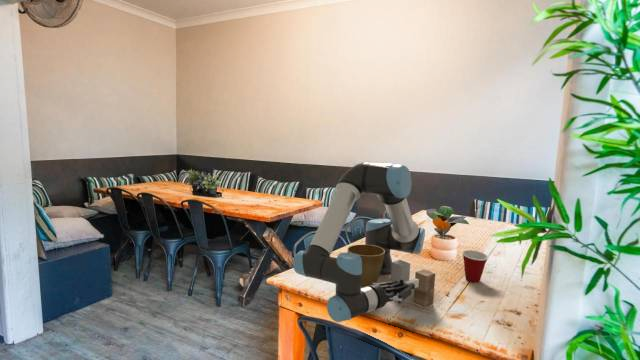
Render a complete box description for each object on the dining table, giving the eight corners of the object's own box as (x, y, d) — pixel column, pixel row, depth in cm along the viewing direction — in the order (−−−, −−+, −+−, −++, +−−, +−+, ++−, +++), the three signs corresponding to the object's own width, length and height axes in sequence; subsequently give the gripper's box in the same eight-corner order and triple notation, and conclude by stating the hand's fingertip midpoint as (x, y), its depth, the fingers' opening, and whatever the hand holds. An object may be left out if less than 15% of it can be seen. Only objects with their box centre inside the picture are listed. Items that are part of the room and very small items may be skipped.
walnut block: (424, 308, 131) (426, 276, 130) (413, 303, 135) (415, 271, 133) (432, 305, 134) (435, 273, 133) (421, 300, 138) (423, 269, 137)
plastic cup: (470, 286, 153) (472, 258, 152) (454, 276, 163) (456, 250, 162) (492, 284, 156) (494, 257, 155) (475, 275, 166) (477, 249, 165)
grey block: (400, 295, 141) (402, 265, 140) (390, 291, 145) (392, 262, 144) (408, 292, 144) (410, 263, 143) (398, 288, 148) (400, 259, 147)
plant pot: (358, 278, 157) (360, 242, 156) (389, 287, 148) (391, 249, 146) (338, 288, 146) (339, 249, 144) (370, 299, 137) (372, 258, 135)
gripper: (355, 301, 121) (402, 286, 136) (384, 317, 111) (431, 299, 126) (356, 280, 121) (403, 266, 135) (386, 294, 110) (433, 278, 125)
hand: (416, 282), depth 130 cm, fingers closed
